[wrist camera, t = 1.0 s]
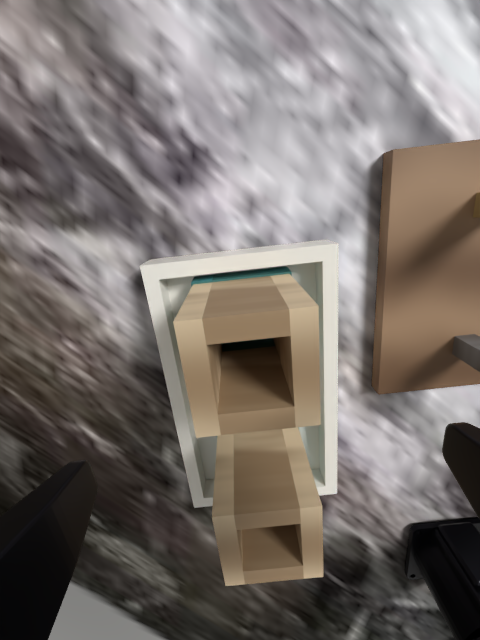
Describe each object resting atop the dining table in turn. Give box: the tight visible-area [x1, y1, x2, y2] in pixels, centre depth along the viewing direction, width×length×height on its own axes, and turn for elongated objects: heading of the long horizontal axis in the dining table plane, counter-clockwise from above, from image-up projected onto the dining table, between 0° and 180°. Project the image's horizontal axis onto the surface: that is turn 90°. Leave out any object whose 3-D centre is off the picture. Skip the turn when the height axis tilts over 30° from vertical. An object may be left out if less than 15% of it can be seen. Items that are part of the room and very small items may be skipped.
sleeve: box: [212, 427, 323, 586], centre depth 18 cm, size 5×5×7 cm
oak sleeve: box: [173, 266, 321, 438], centre depth 14 cm, size 5×5×7 cm
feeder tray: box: [140, 240, 338, 508], centre depth 19 cm, size 17×10×2 cm, turn 6°
